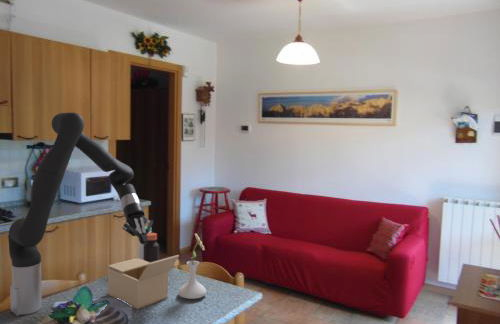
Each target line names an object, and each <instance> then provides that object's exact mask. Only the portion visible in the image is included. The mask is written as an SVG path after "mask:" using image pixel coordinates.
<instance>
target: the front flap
mask: <svg viewBox="0 0 500 324" xmlns="http://www.w3.org/2000/svg"><path fill="white" fill-rule="evenodd" d="M179 257H180V254H177V255H173V256H169V257H166V258H162V259H159V260H158V261H154V262H151V263H149V264H148V265H147V267H146V268H145V270H144V272H143V273H142V275H141V277H140V278H139V281H142V280H145V279H148V278H151V277H154V276H158V275H161V274H164V273H167V272H168V273H169V272H170V271H171V269H172V267H174V265H175V263H176V261H177V260H178V258H179Z"/></svg>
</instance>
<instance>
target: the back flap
mask: <svg viewBox="0 0 500 324" xmlns="http://www.w3.org/2000/svg"><path fill="white" fill-rule="evenodd" d="M149 263H150V262H147V261H144V260H142V259H139V258H138V257H135V258H132V259H129V260H124V261H120V262H116V263H112V264H108V266H107V267H108V268H112V269H114V270H117V271H119V272H121V273H124V272H127V271H131V270H134V269H138V268H141V267H145V266H147V265H148V264H149Z"/></svg>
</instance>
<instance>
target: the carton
mask: <svg viewBox="0 0 500 324" xmlns="http://www.w3.org/2000/svg"><path fill="white" fill-rule="evenodd" d="M146 267H147V266H145V267H141V268H138V269H134V270H131V271H127V272H124V273H121V272H119V271H117V270H114V269H112V268H110V267H108V269H107V275H108V276H107V277H108V278H107V279H108V280H107V286H108V288H107V290H108V291H107V293H108V295H109V296H110V297H112V298H114V299H116V298H119V299H121V300H123V301H125V302H126V303H128V304H129V305H131V306H132V308H134V309H135V310H137V311H138V310H141V309H143V308H146V307H148V306H151V305H154V304H157V303H159V302H162V301H163V300H167V299H168V297H169V296H168V295H169V293H168V292H169V290H168V289H169V287H168V285H169V284H168V283H169V278H168V277H169V272H167V273H164V274H161V275H158V276H154V277H151V278H148V279H145V280H142V281H139V278H140V277H141V275H142V273H143V272H144V270H145V268H146ZM129 305H128V306H129ZM131 306H130V307H131Z"/></svg>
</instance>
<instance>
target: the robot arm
mask: <svg viewBox="0 0 500 324" xmlns="http://www.w3.org/2000/svg"><path fill="white" fill-rule="evenodd" d="M84 127H85V121H84V118H83V117H82V116H81V115H80V114H79V113H77V112H60V113H57V114H55V116H53V117H52V120H51V128H52V130H53V131H54V133H55V134H56V135H57V136H56V138H55V141H54V144H53V145H52V146H51V148H50V149H49V151H48V152H47V154H46V155H45V156H44V157H43V159H41V161H40V163H39V164H38V166H37V169H36V171H35V174H34V176H33V179H32V184H31V194H30V195H31V196H30V197H31V200H30V205H29V210H28V212H27V214H26V217H25V218H23V217H21V218H18V219H17V220H15V221H13V223H11V225H10V227H9V230H8V250H9V257H10V261H11V283H12V284H11V285H9V287H10V288H9V293H10V294H9V296H10V301H9V302H10V312H12V313H13V314H14V315H15V316H23V315H29V314H33V313H36V312H38V311H40V310H41V309H42V304H43V302H42V301H43V300H42V256H41V253H40V252H39V250H38V247H37V245H38V244H39V243H40V242H41V241H42V240H43V238H44V236H45V232H46V229H47V225H48V222H49V218H50V214H51V210H52V208H53V206H54V205H53V204H54V202H55V199H56V198H57V195H58V191H59V189H60V187H61V185H62V182H63V179H64V176H65V173H66V170H67V167H68V165H69V163H70V160H71V157H72V153H73V152H74V150H75V147H76V148H77V149H78V150H79V151H80V152H81V153H83V154H84V155H86V157H88V158H89V159H90V160H91V161H92V162H93V163H94V164H95V165H96V166H97V167H98V168H99V169H100V170H102V171H103V172H105V173H109V172H110V173H109V175H108V177H107V178H108V182H109V184H110V185H111V187H113V189H114V190H115V191H116V193H117V195H118V198H119V201H120V205H121V209H122V212H123V215H124V218H125V220H126V221H125V223H123V226H122V230H124V231H125V232H126V233H128V234H130V235H131V236H132V237H137V238H138V241H140V243H142V245H144V244H146V243H147V241H148V238H147V236H146V235H147V234H148V232H149V231H150V228H151V229H152V226H153V223H154V220H153V219H151V220H150V219H148V218H147V216H146V215H145V212H144V209H143V205H142V203H141V200H140V198H139V197H138V194H137V191H136V188H135V187H134V185H133V184H132V183H128V182H130V181H131V180H132V179H133V178H134V176H135V173H134V170H133V169H132V168H131V167H130V166H129V165H127V164H126V163H123V162H121V161H120V160H118V159H116V158H115V157H114V156H113V155H112V154H111V153H110V152H109V151H108V150H107V149H106V148H105V147H103V146H102V145H101V144H100V143H97V142H96V141H94V140H93V139H91V138H90V137H89V136H88V135H86V134H85V133H84V131H83V130H84ZM111 171H112V172H111ZM145 227H147V229H146V230H145Z"/></svg>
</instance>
